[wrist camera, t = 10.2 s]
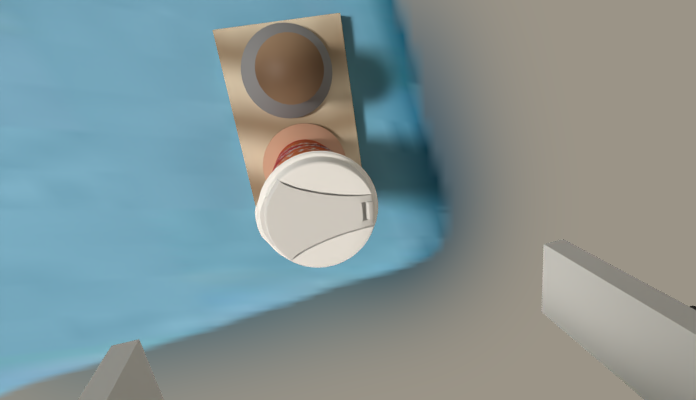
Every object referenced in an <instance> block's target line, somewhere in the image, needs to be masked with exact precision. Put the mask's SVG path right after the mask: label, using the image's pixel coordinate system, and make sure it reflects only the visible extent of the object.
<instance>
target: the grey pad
mask: <svg viewBox="0 0 696 400" xmlns="http://www.w3.org/2000/svg"><path fill="white" fill-rule="evenodd" d="M282 32H293V33H297V34H300V35H302V36H304V37H306V38H307V39H309V40H310V41H311V42H312V43H313V44H314V45H315V46H316V47H317V49H318V50H319V52H320V54H321V57H322V60H323V64H324V76H323V81H322V84H321V86H320V88H319V90H318V91H317V92H316V94H315V95H314V96H313V97H312V98H310V99H309V100H307V101H305V102H303V103H300V104H295V105H287V104H282V103H279V102H277V101H275V100H273V99H272V98H270V97H269V96H268V95H267V94H266V93H265V92H264V91H263V90H262V88H261V87H260V85H259V83H258V81H257V78H256V74H255V59H256V55H257V53H258V50H259V49H260V47H261V45H262V44H263V43H264V42H265V41H266V40H267V39H268V38H270V37H271V36H273V35H275V34H278V33H282ZM241 76H242V81H243V84H244V87H245V89H246V91H247V93H248V95H249V96H250V98H251V99H252V100H253V102H254V103H255V104H256V105H257V106H258V107H260V108H261V109H262V110H264V111H265V112H267V113H269V114H271V115H273V116H277V117H281V118H298V117H302V116H304V115H307V114H309V113H311V112H312V111H314V110H315V109H316V108H318V107H319V106H320V105H321V103H322V102H323V101H324V100H325V98H326V96H327V94H328V92H329V90H330V86H331V82H332V64H331V59H330V56H329V53H328V51H327V49H326V47H325V46H324V44H323V43H322V42H321V40H320V39H319V38H318V37H317V36H316V35H315V34H314V33H312V32H311V31H310V30H308V29H306V28H304V27H303V26H300V25H297V24H293V23H275V24H271V25H269V26H266V27H264V28H262V29H261V30H259V31H258V32H257V33H256V34H255V35H254V36H253V37H252V38H251V39H250V40H249V42H248V43H247V45H246V47H245V49H244V52H243V55H242V59H241Z"/></svg>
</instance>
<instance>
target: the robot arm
mask: <svg viewBox="0 0 696 400" xmlns="http://www.w3.org/2000/svg"><path fill="white" fill-rule="evenodd" d="M542 286H543V287H542V313H544V314H545V315H546V316H547V317H548V318H549V319H550V320H552V321H553V322H554V323H555V324H556V325H557V326H559V327H560V328H561V329H562V330H563V331H564V332H566V333H567V334H568V335H569V336H570V337H572V338H573V339H574V340H575V341H576V342H577V343H578V344H580V345H581V346H582V347H583V348H584V349H585V350H587V351H588V352H589V353H590V354H591V355H592V356H594V357H595V358H596V359H597V360H598V361H599V362H601V363H602V364H603V365H604V366H605V367H607V368H608V369H609V370H610V371H611V372H613V374H615V375H616V376H617V377H618V378H619V379H620V380H622V381H623V382H624V383H625V384H626V385H628V386H629V387H630V388H631V389H632V390H633V391H635V392H636V393H637V394H638V395H639V396H640V397H642V398H643V399H644V400H696V306H690V307H689V306H687V305H685V304H683V303H681V302H680V301H677V300H676V299H674V298H672V297H670V296H668V295H667V294H665V293H663V292H661V291H659V290H657V289H655V288H654V287H652V286H650V285H648V284H646V283H644V282H642V281H640V280H639V279H637V278H635V277H633V276H631V275H629V274H627V273H625V272H624V271H622V270H620V269H618V268H616V267H614V266H613V265H611V264H609V263H607V262H605V261H603V260H601V259H600V258H598V257H595V256H594V255H592V254H590V253H588V252H586V251H585V250H583V249H581V248H579V247H577V246H575V245H573V244H571V243H570V242H568V241H566V240H564V239H563V240H559V241H555V242H551V243H546V244H544V252H543V285H542ZM78 400H164V399H163V397H162V394H161V392H160V389H159V387H158V384H157V382H156V380H155V377H154V375H153V372H152V370H151V367H150V365H149V362H148V360H147V357H146V355H145V353H144V350H143V348H142V345H141V343H140V340H134V341H130V342H126V343H122V344H117V345H113V346H111V348H110V349H109V351H108V352H107V354H106V355H105V357H104V359H103V360H102V362H101V363H100V365H99V367H98V368H97V370H96V371H95V373H94V375H93V376H92V378H91V379H90V381H89V382H88V384H87V386H86V387H85V389H84V391H83V392H82V394H81V395H80V397H79V398H78Z"/></svg>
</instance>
